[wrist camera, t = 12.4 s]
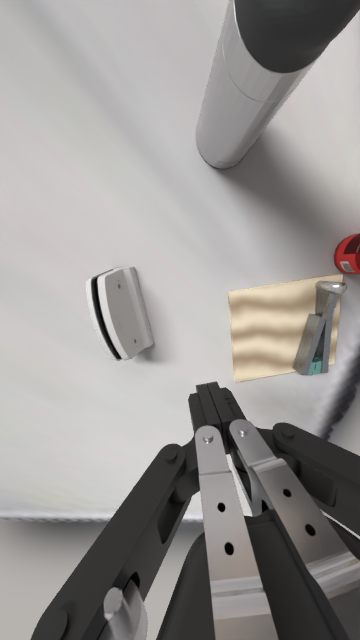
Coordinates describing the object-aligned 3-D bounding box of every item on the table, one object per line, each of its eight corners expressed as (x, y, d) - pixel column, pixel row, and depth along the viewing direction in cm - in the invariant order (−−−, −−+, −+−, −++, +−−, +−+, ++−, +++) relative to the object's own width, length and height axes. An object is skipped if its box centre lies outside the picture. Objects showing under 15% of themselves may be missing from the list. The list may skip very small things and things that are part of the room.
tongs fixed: (310, 281, 39) (331, 284, 34) (324, 279, 39) (347, 281, 35) (306, 367, 45) (323, 379, 40) (318, 365, 45) (337, 377, 40)
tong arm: (315, 291, 40) (333, 294, 36) (327, 293, 40) (345, 296, 36) (292, 367, 44) (305, 378, 40) (303, 368, 45) (317, 378, 41)
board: (228, 291, 39) (230, 292, 38) (338, 274, 41) (343, 274, 39) (234, 379, 45) (236, 382, 44) (329, 361, 47) (334, 364, 45)
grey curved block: (154, 344, 41) (132, 370, 32) (134, 345, 42) (108, 371, 33) (133, 264, 36) (100, 269, 27) (112, 269, 38) (74, 275, 28)
